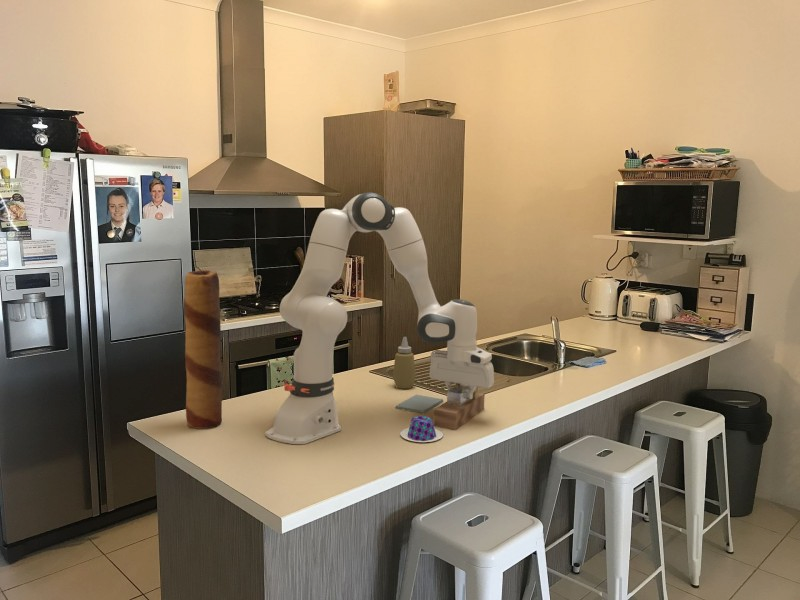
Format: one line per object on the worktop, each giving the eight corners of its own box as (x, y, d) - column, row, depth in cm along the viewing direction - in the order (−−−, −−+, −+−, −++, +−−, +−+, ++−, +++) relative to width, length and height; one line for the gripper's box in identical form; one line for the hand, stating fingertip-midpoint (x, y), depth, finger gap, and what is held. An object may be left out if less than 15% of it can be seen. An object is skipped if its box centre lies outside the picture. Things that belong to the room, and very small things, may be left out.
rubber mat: (423, 413, 203) (423, 411, 203) (395, 408, 208) (395, 405, 208) (443, 401, 215) (443, 399, 215) (416, 396, 220) (416, 394, 220)
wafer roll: (231, 419, 196) (226, 270, 189) (211, 431, 186) (205, 274, 179) (200, 416, 199) (195, 269, 192) (179, 427, 189) (173, 272, 182)
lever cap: (460, 406, 195) (460, 391, 194) (446, 404, 197) (447, 389, 196) (473, 398, 203) (473, 383, 202) (460, 395, 205) (460, 381, 205)
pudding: (451, 438, 184) (452, 420, 183) (419, 448, 177) (419, 429, 176) (423, 426, 193) (423, 409, 192) (391, 435, 186) (392, 417, 185)
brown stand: (455, 429, 190) (456, 394, 188) (433, 425, 193) (434, 390, 191) (484, 408, 209) (485, 376, 207) (463, 405, 212) (464, 373, 210)
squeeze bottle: (400, 382, 237) (400, 333, 234) (419, 385, 233) (420, 336, 230) (388, 387, 230) (388, 337, 227) (408, 391, 226) (409, 340, 223)
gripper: (426, 350, 200) (425, 394, 202) (489, 359, 190) (487, 405, 192) (435, 346, 205) (434, 389, 207) (496, 355, 195) (495, 399, 198)
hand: (460, 397), depth 200 cm, fingers closed on lever cap, 4 cm apart
